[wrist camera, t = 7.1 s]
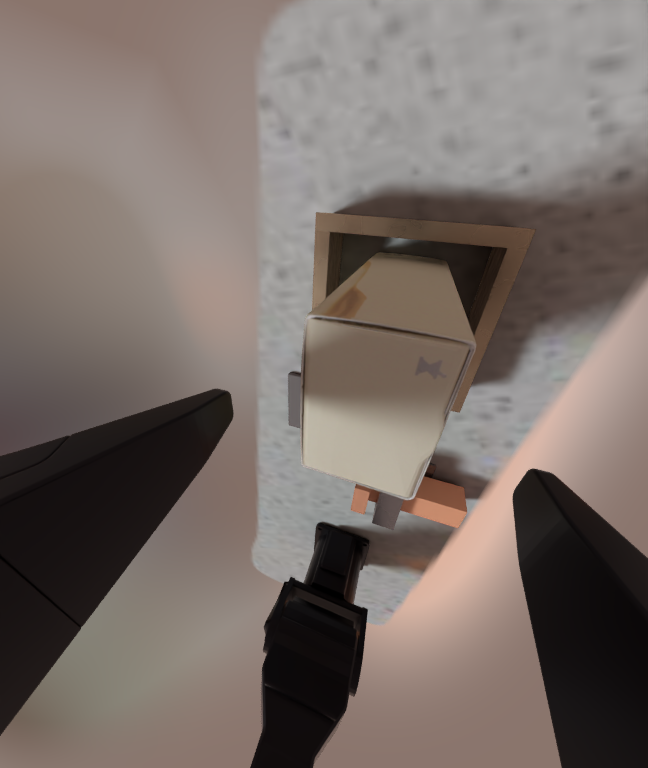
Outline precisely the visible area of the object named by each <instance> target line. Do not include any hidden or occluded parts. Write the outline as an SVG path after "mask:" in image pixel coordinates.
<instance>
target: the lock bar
mask: <svg viewBox="0 0 648 768" xmlns="http://www.w3.org/2000/svg"><path fill="white" fill-rule="evenodd" d="M379 493H380V491H376V490H374V489H370V488H367V487H365V486H361V485H358V484H356V486H355V490H354V495H353V501H352V506H351V510H352V511H355V512H358V513H361V514H365V510H366V506H367V502H368V500H369V501H373V502H376V503H377V501H378V497H379ZM400 510H401V511H405V512H408V513H411V514H414V515H417V516H420V517H424V518H427V519H430V520H433V521H436V522H440V523H443V524H446V525H449V526H452V527H455V528H458V527H459V526H460V524H461V522H462V521H463V519H464V517H465V515H466V514H467V507H466V500H465V493H464V487H460V486H457V485H453V484H449V483H446V482H442V481H439V480H435V479H432V478H428V477H425V476H424V477H423V479H422V482H421V484H420V486H419V488H418V491H417V493H416V496H415V497H414V499H411V500H404V501H403V504H402V506H401V509H400Z"/></svg>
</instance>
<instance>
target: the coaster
mask: <svg viewBox="0 0 648 768" xmlns="http://www.w3.org/2000/svg"><path fill="white" fill-rule="evenodd" d="M288 403H289V425H290V426H294V427H297V428H301V425H300V411H301V375H300V374H296V373H291V372H290V373H289V374H288Z"/></svg>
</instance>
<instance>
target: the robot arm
mask: <svg viewBox="0 0 648 768" xmlns="http://www.w3.org/2000/svg"><path fill="white" fill-rule="evenodd" d="M232 419H233V406H232V399H231V394H230V393H229V392H228V391H225V390H221V389H213V390H210V391H207V392H203V393H200V394H197V395H194V396H191V397H188V398H184V399H181V400H178V401H175V402H172V403H169V404H166V405H162V406H159V407H156V408H153V409H150V410H147V411H144V412H140V413H137V414H134V415H131V416H128V417H125V418H122V419H118V420H115V421H112V422H109V423H106V424H103V425H100V426H96V427H94V428H90V429H88V430H84V431H81V432H78V433H75V434H72V435H71V436H65V437H62V438H59V439H55V440H53V441H49V442H46V443H43V444H39V445H36V446H33V447H30V448H26V449H23V450H20V451H17V452H13V453H9V454H6V455H2V456H0V735H1V734H2V733H3V731H4V730H5V728H6V727H7V726H8V725H9V724H10V722H11V721H12V720H13V718H14V717H15V715H16V714H17V713H18V712H19V710H20V709H21V708H22V706H23V705H24V704H25V702H26V701H27V700H28V698H29V697H30V695H31V694H32V693H33V692H34V690H35V689H36V688H37V686H38V685H39V684H40V682H41V681H42V680H43V678H44V677H45V676H46V674H47V673H48V672H49V670H50V669H51V667H53V665H54V664H55V663H56V661H57V660H58V658H59V657H60V656H61V655H62V653H63V652H64V650H65V649H66V648H67V647H68V645H69V644H70V643H71V641H72V640H73V639H74V637H75V636H76V635H77V633H78V632H79V631H80V629H81V627H82V626H83V625H84V624H85V623H86V621H87V620H88V619H89V617H90V616H91V615H92V613H93V612H94V611H95V609H96V608H97V607H98V605H99V604H100V602H101V601H102V600H103V599H104V597H105V596H106V595H107V593H108V592H109V591H110V589H111V588H112V587H113V585H114V584H115V583H116V581H117V580H118V579H119V578H120V576H121V575H122V574H123V572H124V571H125V570H126V568H127V567H128V565H129V564H130V563H131V561H132V560H133V559H134V558H135V556H136V555H137V553H138V552H139V551H140V550H141V548H142V547H143V546H144V544H145V543H146V542H147V540H148V539H149V538H150V536H151V535H152V534H153V532H154V531H155V530H156V529H157V527H158V526H159V524H160V523H161V522H162V521H163V519H164V518H165V517H166V515H167V514H168V513H169V511H170V510H171V508H172V507H173V506H174V505H175V503H176V502H177V501H178V499H179V498H180V497H181V495H182V494H183V493H184V491H185V490H186V489H187V487H188V486H189V485H190V483H191V482H192V481H193V479H194V478H195V477H196V476H197V474H198V473H199V472H200V470H201V469H202V467H203V466H204V464H205V463H206V462H207V460H208V459H209V457H210V456H211V454H212V452H213V451H214V449H215V448H216V446H217V444H218V443H219V441H220V439H221V438H222V436H223V434H224V433H225V431H226V429H227V428H228V426H229V424H230V423H231V421H232ZM513 509H514V518H515V530H516V540H517V550H518V559H519V566H520V572H521V576H522V582H523V587H524V591H525V596H526V601H527V605H528V610H529V615H530V620H531V624H532V629H533V634H534V638H535V643H536V648H537V653H538V657H539V662H540V666H541V672H542V676H543V681H544V686H545V691H546V695H547V700H548V704H549V709H550V714H551V719H552V723H553V728H554V733H555V738H556V743H557V747H558V752H559V756H560V761H561V766H562V768H648V558H647V557H646V556H645V555H643V553H641V552H640V551H639V550H638V549H637V548H636V547H635V546H634V545H632V544H631V543H630V542H629V541H628V540H627V539H626V538H625V537H623V536H622V535H621V534H620V533H619V532H618V531H617V530H616V529H615V528H613V527H612V526H611V525H610V524H609V523H608V522H607V521H606V520H604V519H603V518H602V517H601V516H600V515H599V514H598V513H597V512H595V511H594V510H593V509H592V508H591V507H590V506H589V505H587V503H585V502H584V501H583V500H582V499H581V498H580V497H579V496H577V495H576V494H575V493H574V492H573V491H572V490H571V489H570V488H569V487H568V486H566V485H565V484H564V483H563V482H562V481H561V480H560V479H558V478H557V477H556V476H555V475H554V474H552V473H550V472H546V471H542V470H538V469H530V470H528V471H527V473H526V474H525V476H524V477H523V478H522V480H521V481H520V483H519V484H518V486H517V487H516V488H515V490H514V493H513ZM369 544H370V542H369V541H368V540H366V539H364V538H361V537H358V536H355V535H352V534H349V533H346V532H343V531H341V530H338V529H335V528H332V527H329V526H326V525H323V524H320V523H318V524H317V526H316V533H315V545H314V554H313V557H312V560H311V563H310V566H309V569H308V571H307V574H306V577H305V580H304V583H302V582H299V581H297V580H295V578H292V577H290V580H289V582H284V585H283V587H282V590H281V592H280V595H279V597H278V599H277V601H276V603H275V605H274V607H273V609H272V611H271V613H270V615H269V617H268V618H267V620H266V622H265V625H264V630H265V634H266V636H265V643H264V648H263V652H265V653H266V654H267V656H266V658H265V661H264V663H263V667H262V682H261V683H262V684H261V715H262V716H261V717H262V718H261V719H262V733H261V736H260V740H259V743H258V746H257V749H256V752H255V755H254V758H253V761H252V764H251V767H250V768H313V764H314V763H315V761H316V760H317V758H318V757H319V755H320V754H321V752H322V751H323V750H324V748H325V747H326V745H327V743H328V742H329V741H330V739H331V738H332V736H333V735H334V733H335V732H336V730H337V728H338V726H339V724H340V722H341V719H342V718H343V715H344V713H345V711H346V708H347V703H348V698H349V695H351V696H353V697H354V696H355V694H356V691H357V687H358V682H359V677H360V672H361V666H362V659H363V651H364V641H365V631H366V622H367V613H368V609H366V608H364V607H363V608H361V607H359V606H356V605H354V599H355V594H356V588H357V583H358V578H359V572H360V570H362V569H363V566H364V562H365V559H366V555H367V552H368V548H369Z"/></svg>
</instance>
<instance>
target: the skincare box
mask: <svg viewBox="0 0 648 768" xmlns="http://www.w3.org/2000/svg"><path fill="white" fill-rule="evenodd" d="M475 350H476V341H475V339H474V336H473V333H472V331H471V328H470V325H469V322H468V319H467V317H466V314H465V310H464V308H463V305H462V302H461V300H460V297H459V294H458V292H457V289H456V286H455V283H454V280H453V277H452V275H451V272H450V269H449V266H448V263H447V261H445V260H440V259H434V258H427V257H420V256H413V255H405V254H395V253H382V252H378V253H376V254H375V255H374V256H372V257H371V258H370V259H369V260H368V261H367V262H366V263H365V264H364V265H363V266H361V267H360V268H359V269H358V270H357V271H356V272H355V273H353V274H352V275H351V276H350V277H349V278H348V279H347V280H346V281H345V282H343V283H342V284H341V285H340V286H339V287H338V288H337V289H336V290H335V291H334V292H333V293H331V294H330V295H329V296H328V297H327V298H326V299H325V300H323V301H322V302H321V303H320V304H319V305H318V306H317V307H316V308H315V309H314V310H312V311H311V312H310V313H309V314H308V315H307V316H306V318H305V324H304V335H303V349H302V364H301V411H300V425H301V464H302V466H304V467H306V468H309V469H313V470H316V471H319V472H322V473H325V474H328V475H331V476H334V477H337V478H340V479H343V480H346V481H349V482H352V483H355V484H358V485H361V486H365V487H367V488H370V489H374V490H376V491H380V492H383V493H386V494H389V495H392V496H395V497H398V498H401V499H404V500H411V499H414V497H415V496H416V493H417V491H418V488H419V486H420V484H421V482H422V479H423V477H424V475H425V472H426V470H427V467H428V465H429V463H430V460H431V458H432V456H433V453H434V451H435V449H436V446H437V444H438V442H439V439H440V437H441V434H442V432H443V429H444V427H445V424H446V421H447V419H448V416H449V414H450V411H451V409H452V406H453V404H454V402H455V399H456V397H457V394H458V392H459V389H460V387H461V384H462V382H463V380H464V377H465V375H466V372H467V369H468V367H469V364H470V362H471V359H472V357H473V355H474V353H475Z"/></svg>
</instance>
